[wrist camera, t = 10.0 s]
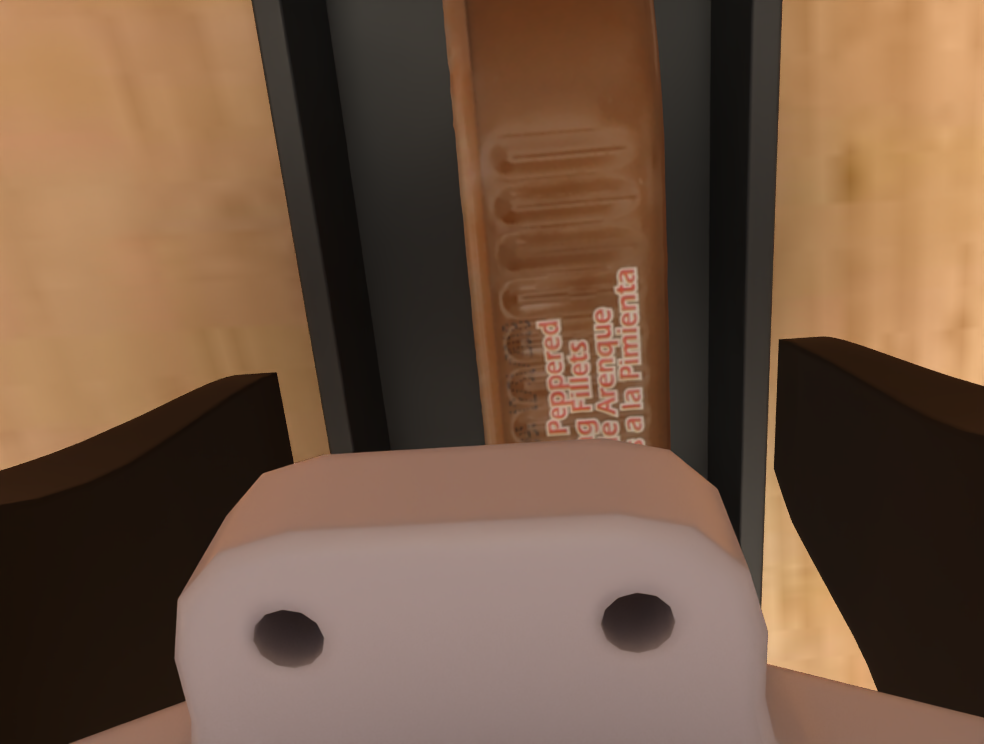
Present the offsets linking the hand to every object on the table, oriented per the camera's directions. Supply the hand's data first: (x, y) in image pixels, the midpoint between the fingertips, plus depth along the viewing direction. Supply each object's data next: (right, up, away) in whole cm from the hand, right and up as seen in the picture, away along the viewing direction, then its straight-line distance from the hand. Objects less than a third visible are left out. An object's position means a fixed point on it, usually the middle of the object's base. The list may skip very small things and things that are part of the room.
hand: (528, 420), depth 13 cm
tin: (+1, +3, +7) cm, 8 cm away
